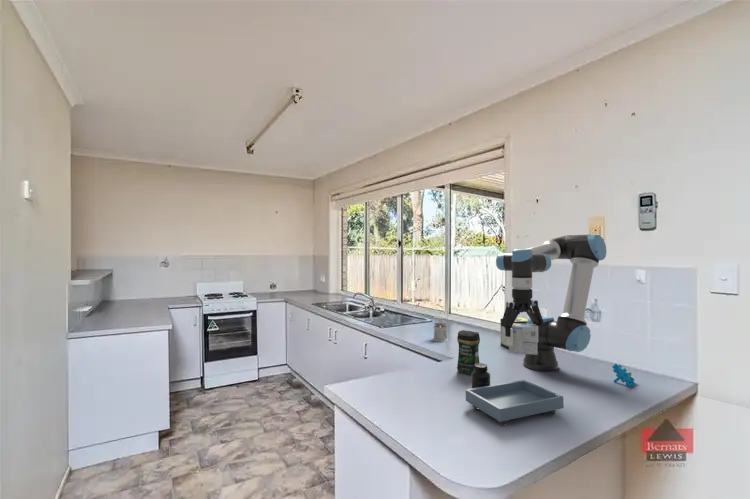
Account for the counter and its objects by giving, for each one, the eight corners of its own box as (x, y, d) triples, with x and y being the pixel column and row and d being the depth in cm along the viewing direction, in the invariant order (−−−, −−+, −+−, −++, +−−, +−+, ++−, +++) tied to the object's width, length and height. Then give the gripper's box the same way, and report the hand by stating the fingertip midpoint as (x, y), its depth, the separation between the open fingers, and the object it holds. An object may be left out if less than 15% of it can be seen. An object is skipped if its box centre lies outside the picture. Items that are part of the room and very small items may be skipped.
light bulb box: (536, 350, 154) (536, 323, 154) (538, 355, 148) (537, 327, 148) (508, 348, 158) (508, 322, 157) (508, 353, 151) (508, 325, 151)
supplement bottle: (469, 393, 148) (468, 362, 148) (486, 393, 149) (486, 361, 149) (475, 400, 141) (474, 367, 141) (493, 400, 142) (493, 367, 142)
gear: (628, 385, 151) (610, 363, 157) (616, 393, 154) (599, 370, 161) (642, 384, 156) (624, 362, 163) (630, 391, 160) (613, 370, 166)
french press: (432, 341, 233) (431, 299, 233) (432, 336, 244) (432, 297, 244) (448, 341, 231) (448, 300, 231) (448, 337, 243) (448, 297, 243)
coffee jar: (454, 372, 174) (454, 331, 174) (462, 368, 180) (462, 328, 180) (474, 376, 168) (474, 333, 168) (482, 372, 174) (482, 330, 174)
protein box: (535, 348, 215) (535, 320, 215) (510, 350, 212) (509, 321, 212) (524, 343, 225) (524, 317, 225) (499, 345, 222) (499, 318, 222)
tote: (465, 407, 135) (465, 389, 135) (524, 396, 145) (523, 379, 145) (500, 429, 119) (500, 409, 119) (563, 415, 128) (563, 396, 128)
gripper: (503, 290, 145) (504, 348, 145) (552, 287, 153) (553, 342, 154) (490, 288, 151) (491, 344, 152) (538, 286, 160) (539, 338, 161)
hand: (522, 343), depth 153 cm, fingers closed on light bulb box, 12 cm apart
